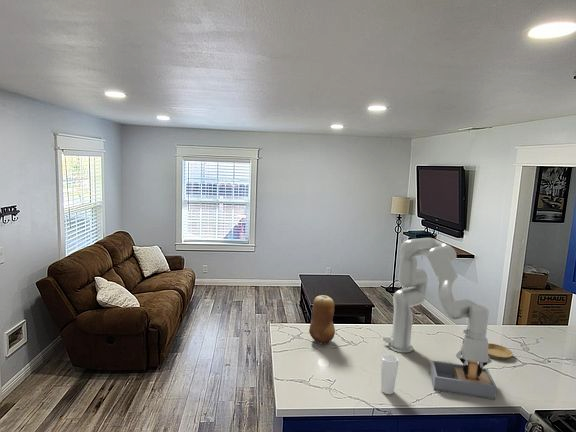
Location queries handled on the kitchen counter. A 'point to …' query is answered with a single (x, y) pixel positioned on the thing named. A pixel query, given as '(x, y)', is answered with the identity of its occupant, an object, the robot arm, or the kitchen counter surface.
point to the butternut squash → (322, 320)
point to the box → (461, 381)
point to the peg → (472, 370)
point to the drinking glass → (388, 373)
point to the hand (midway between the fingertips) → (471, 373)
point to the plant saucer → (498, 351)
